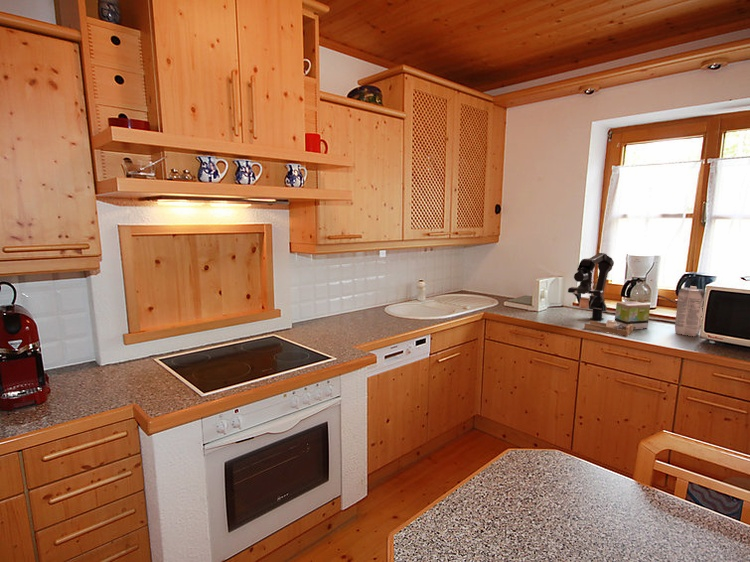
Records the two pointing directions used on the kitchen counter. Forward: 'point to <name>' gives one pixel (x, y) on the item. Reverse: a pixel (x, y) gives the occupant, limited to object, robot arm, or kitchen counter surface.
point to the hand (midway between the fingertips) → (584, 305)
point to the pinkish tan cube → (584, 302)
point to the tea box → (632, 314)
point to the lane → (602, 327)
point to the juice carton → (689, 311)
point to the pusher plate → (619, 326)
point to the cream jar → (611, 324)
